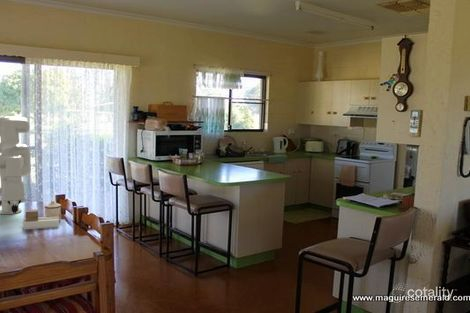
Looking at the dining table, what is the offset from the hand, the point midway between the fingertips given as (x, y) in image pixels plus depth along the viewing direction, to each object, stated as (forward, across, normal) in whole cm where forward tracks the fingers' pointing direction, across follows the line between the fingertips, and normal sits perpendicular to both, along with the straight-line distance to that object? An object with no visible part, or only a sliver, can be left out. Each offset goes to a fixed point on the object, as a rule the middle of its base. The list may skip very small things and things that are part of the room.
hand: (14, 212), depth 230 cm
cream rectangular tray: (+9, +13, +1) cm, 16 cm away
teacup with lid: (+9, +19, +14) cm, 25 cm away
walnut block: (+8, +8, +1) cm, 11 cm away
